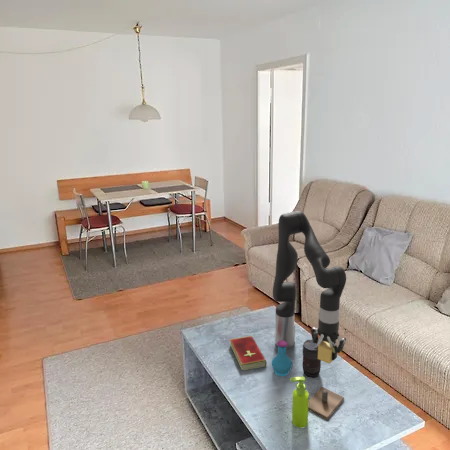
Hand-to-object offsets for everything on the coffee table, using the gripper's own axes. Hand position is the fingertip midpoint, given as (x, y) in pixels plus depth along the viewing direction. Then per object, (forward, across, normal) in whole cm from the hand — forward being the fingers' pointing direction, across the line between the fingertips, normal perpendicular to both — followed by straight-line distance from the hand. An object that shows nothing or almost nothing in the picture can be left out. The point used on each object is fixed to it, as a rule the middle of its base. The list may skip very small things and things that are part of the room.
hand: (326, 356), depth 157 cm
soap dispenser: (+22, +3, +15) cm, 27 cm away
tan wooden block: (+1, 0, 0) cm, 1 cm away
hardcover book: (+23, +44, -6) cm, 50 cm away
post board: (+22, 0, 0) cm, 22 cm away
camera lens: (+22, +14, -13) cm, 29 cm away
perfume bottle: (+22, +24, -6) cm, 34 cm away
